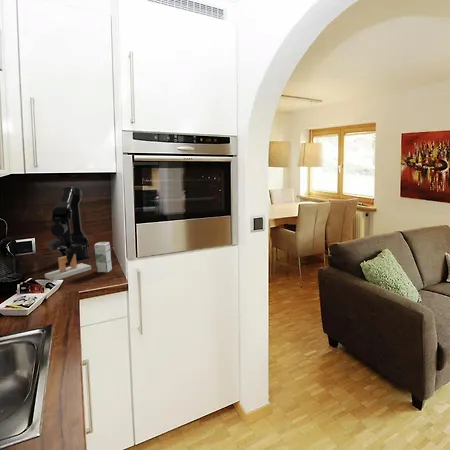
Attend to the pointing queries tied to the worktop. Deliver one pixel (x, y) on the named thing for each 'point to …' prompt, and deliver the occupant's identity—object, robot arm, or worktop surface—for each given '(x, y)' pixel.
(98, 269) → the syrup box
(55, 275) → the rail
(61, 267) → the clip
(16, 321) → the worktop surface
